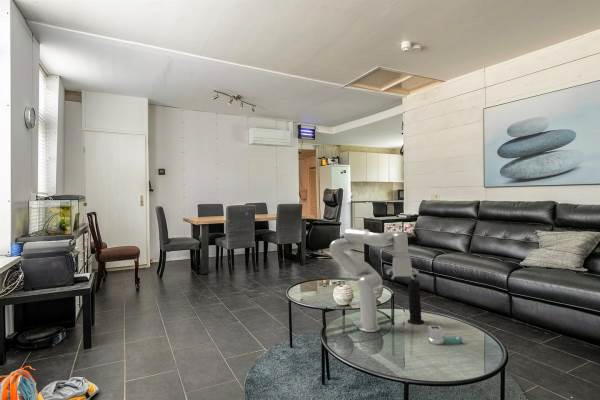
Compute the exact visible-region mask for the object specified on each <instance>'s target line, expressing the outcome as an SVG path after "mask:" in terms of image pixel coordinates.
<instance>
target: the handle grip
mask: <svg viewBox="0 0 600 400" xmlns="http://www.w3.org/2000/svg"><path fill="white" fill-rule="evenodd" d="M407 282H408V283H407V286H408V287H407V288H408V292H407V293H408V304H409V305H408V309H409V319H408V320H407V323H408V324H411V325H415V326H416V325H417V326H419V325H423V324H425V321H424V320H423V319H422V305H421V292H420V291H421V289H420V288H421V286H420V280H418V279H416V278H415V279H414V285H413V287H412V286H411V279H408V280H407Z"/></svg>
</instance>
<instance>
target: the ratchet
mask: <svg viewBox="0 0 600 400" xmlns="http://www.w3.org/2000/svg"><path fill="white" fill-rule="evenodd" d="M433 329H437V328H433ZM442 338H443V340H439V339H430V336H429V334H428V335H427V342H428V344H430V345H434V346H442V345H444V344H447V345H448V344H449V345H451V344H452V345H460V344H463V339H462V337H461V336H445V335H444V336H443V335H442Z"/></svg>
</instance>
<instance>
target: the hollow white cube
mask: <svg viewBox="0 0 600 400" xmlns="http://www.w3.org/2000/svg"><path fill="white" fill-rule="evenodd" d="M433 328H437V329H433ZM428 335H429V336H430V339H439V340H443V338H442V336H443V329H442V327H441V325H428Z"/></svg>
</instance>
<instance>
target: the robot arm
mask: <svg viewBox="0 0 600 400" xmlns="http://www.w3.org/2000/svg"><path fill="white" fill-rule="evenodd" d="M359 243H360V244H366V245H368V246H372V247H373V246H374V247H382V248H384V247H387V246H393V252H391V256H392V267H391V268H389V269H387V270H385V273H386V274H387V276H388V277H389V278H390V279H391V285H392V287H396V286H395V285H396V284H395V283H396V282H395V278H396V277H410V280H411V286H412V287H413V285H414V279H415V280H416V279H417V277H418V275H419V272H420V271H419V270H418V269H415V268H414V267H412V260H411V257H410V256H409V244H408V243H409V241H408V234H407V233H406V232H394V231H387V232H381V233H380V232H372V231H370V230H369V229H366V228H361V227H358V226H356V227H349V228H347V229H345V230H344V232H343V238H338V239H335V240H332V241H331V243H330V244H329V254H330V256H331V258H332V259H333V260H334V261H335V262H337V264H338V265H339V266H341V268H342V269H343V270H344V272H346V273H347V275H349V276H350V277H351V278H352V279H358V281H357V289H358V292H359V293H358V294H359V307H360V319H359V320H353V324H354V325H355V326H358V329H359V330H360V331H362V332H366V333H374V332H378V331H380V330H381V326H380V325H379V324H378V314H377V313H378V311H377V310H378V309H377V298H376V294H375V291H374V290H378V289H379V288H381V287H382V284H383V278H382V276H381V275H380V274H379V273H378V271H377V270H375V268H374V267H372V266H371V265H370V263H369V262H366V261H364V260H363V261H362V260H358V261H356V260H354V258H352V257H351V255H349V254H347V253H346V252H348V251H351V250H353V249H354V248H355V247H356V246H357V245H358V244H359ZM390 272H392V274H390ZM413 272H414V274H413Z"/></svg>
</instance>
